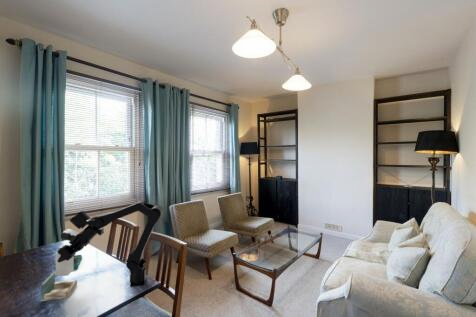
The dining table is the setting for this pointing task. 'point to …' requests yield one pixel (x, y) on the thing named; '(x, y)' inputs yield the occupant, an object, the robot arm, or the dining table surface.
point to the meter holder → (56, 288)
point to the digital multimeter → (77, 261)
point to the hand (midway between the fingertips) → (61, 259)
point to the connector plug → (64, 265)
